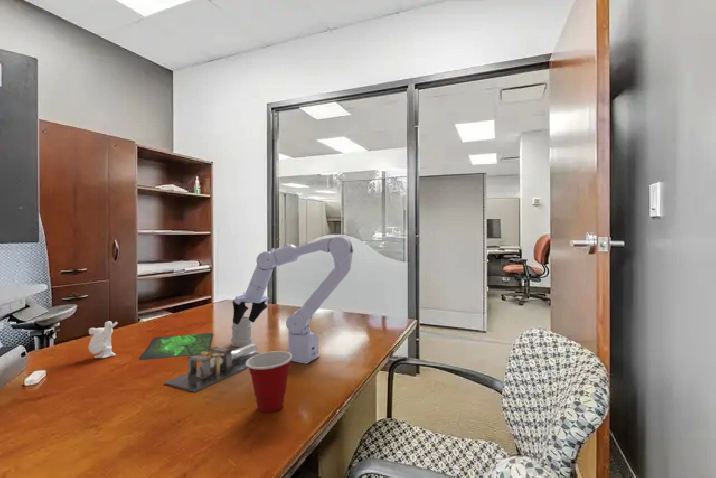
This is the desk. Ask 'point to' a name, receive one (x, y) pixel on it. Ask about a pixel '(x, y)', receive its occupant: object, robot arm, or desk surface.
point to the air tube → (234, 355)
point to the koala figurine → (102, 340)
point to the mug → (241, 332)
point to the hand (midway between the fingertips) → (243, 322)
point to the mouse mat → (178, 346)
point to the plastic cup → (269, 378)
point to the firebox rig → (203, 379)
